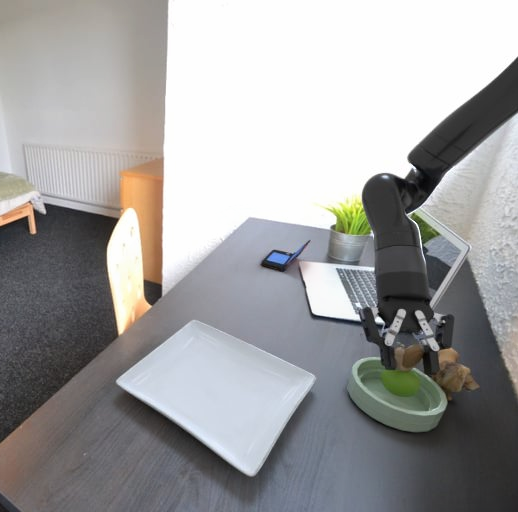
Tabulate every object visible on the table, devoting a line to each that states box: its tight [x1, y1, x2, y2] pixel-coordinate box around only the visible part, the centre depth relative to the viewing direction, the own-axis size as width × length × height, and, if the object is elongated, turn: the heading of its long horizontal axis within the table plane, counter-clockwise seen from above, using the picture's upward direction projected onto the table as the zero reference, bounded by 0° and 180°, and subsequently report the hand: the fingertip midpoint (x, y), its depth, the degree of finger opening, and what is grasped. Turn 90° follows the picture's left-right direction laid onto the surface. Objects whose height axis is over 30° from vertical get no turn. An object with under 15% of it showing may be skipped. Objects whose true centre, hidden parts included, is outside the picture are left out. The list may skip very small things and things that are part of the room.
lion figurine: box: [423, 347, 480, 401], centre depth 68 cm, size 15×5×9 cm, turn 150°
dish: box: [346, 356, 448, 433], centre depth 66 cm, size 14×14×4 cm
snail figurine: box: [381, 341, 424, 397], centre depth 63 cm, size 5×6×12 cm
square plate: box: [115, 319, 317, 478], centre depth 69 cm, size 27×27×4 cm
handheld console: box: [260, 239, 311, 272], centre depth 115 cm, size 12×11×7 cm
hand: (410, 371), depth 61 cm, fingers closed on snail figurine, 5 cm apart
